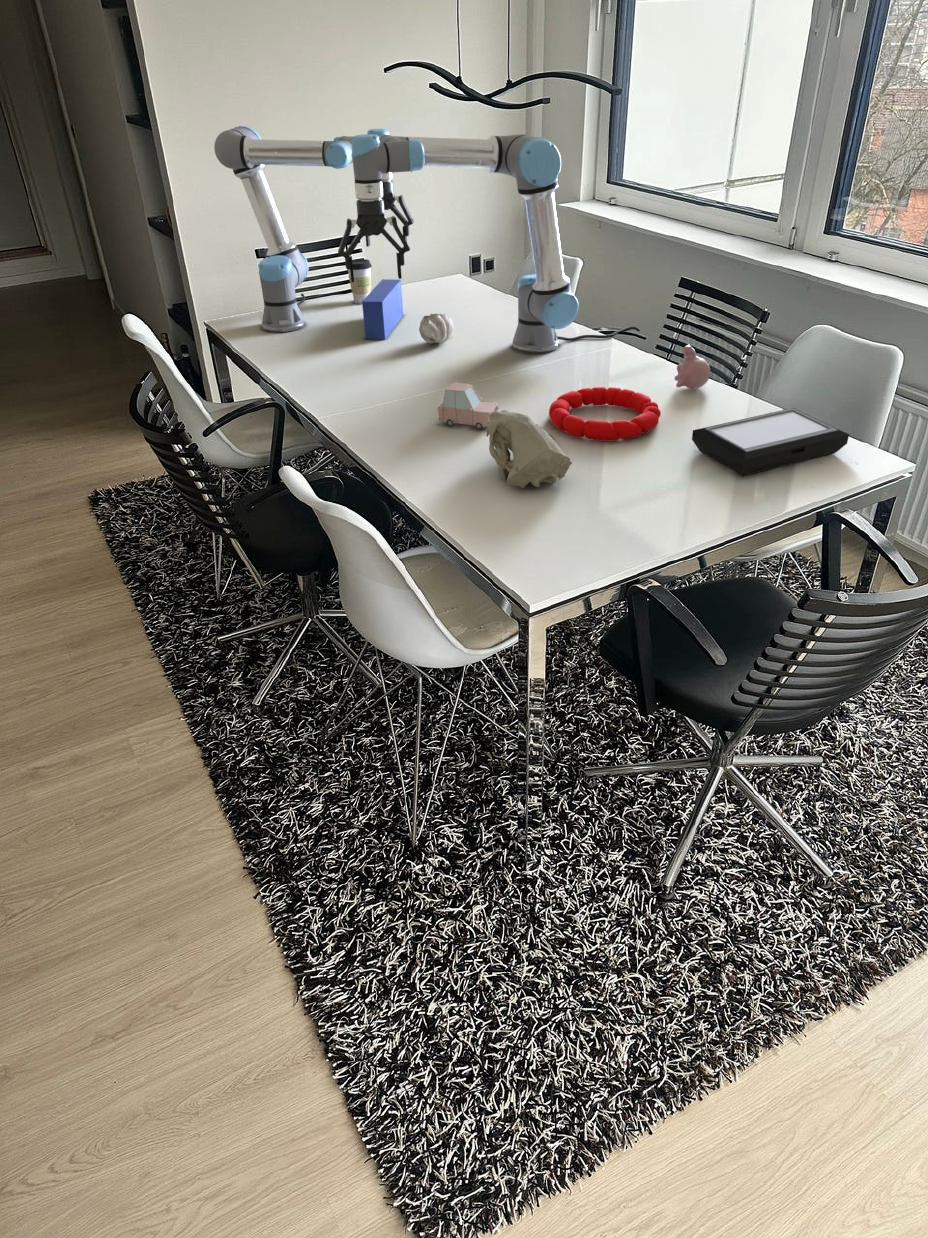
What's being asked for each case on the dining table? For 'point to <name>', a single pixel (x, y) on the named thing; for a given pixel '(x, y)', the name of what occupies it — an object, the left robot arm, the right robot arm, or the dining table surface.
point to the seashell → (436, 328)
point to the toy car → (465, 406)
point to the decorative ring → (604, 428)
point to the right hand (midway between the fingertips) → (376, 279)
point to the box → (382, 309)
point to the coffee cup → (361, 279)
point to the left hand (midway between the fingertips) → (386, 245)
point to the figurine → (692, 370)
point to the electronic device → (769, 441)
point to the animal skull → (525, 450)
